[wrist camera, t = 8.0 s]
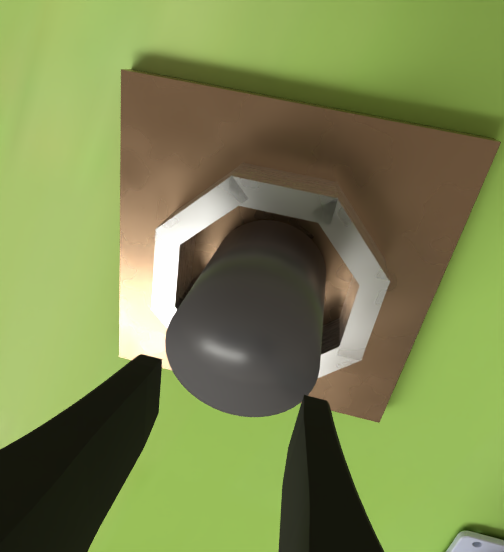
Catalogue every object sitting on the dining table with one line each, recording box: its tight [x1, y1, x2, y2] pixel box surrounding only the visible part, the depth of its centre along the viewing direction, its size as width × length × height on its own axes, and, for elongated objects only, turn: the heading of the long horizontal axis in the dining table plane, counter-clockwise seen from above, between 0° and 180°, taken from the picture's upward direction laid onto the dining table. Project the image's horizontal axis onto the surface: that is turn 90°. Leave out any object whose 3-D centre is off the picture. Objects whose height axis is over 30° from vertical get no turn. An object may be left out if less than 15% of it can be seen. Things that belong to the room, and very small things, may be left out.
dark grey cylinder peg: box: [165, 220, 326, 417], centre depth 16 cm, size 5×5×6 cm
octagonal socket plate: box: [119, 69, 501, 422], centre depth 18 cm, size 14×14×3 cm
